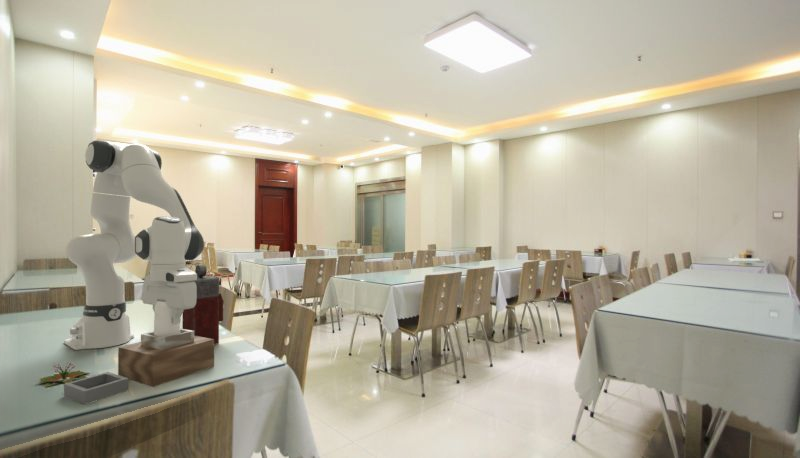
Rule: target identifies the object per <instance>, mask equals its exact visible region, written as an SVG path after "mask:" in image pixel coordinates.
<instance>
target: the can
mask: <svg viewBox="0 0 800 458" xmlns="http://www.w3.org/2000/svg"><path fill="white" fill-rule="evenodd" d="M174 313H175V312H174V311H173V308H170V307H168V306H167V305H166V301H159V300H158V299H157V303H156V304H155V313H154V321H153V332H154V336H159V337H166V336H171V335H175V334H179V333H180V328H181V322H180V323H178V324H173V323H171V321H172V320H171V317H173V316H174Z"/></svg>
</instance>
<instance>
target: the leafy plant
mask: <svg viewBox="0 0 800 458" xmlns="http://www.w3.org/2000/svg"><path fill="white" fill-rule="evenodd" d="M71 366H72V367H71ZM52 367H53V368H54V369H55V371H54V372H55V374H53V375H49V376H45V377H43V378H42V377H41V378H39V380H40V381H39V382H38V383H36V384H35V385H40V384H43V383H45V388H47V387H51V386H54V385H58V384H61V383H63V384H66V383H69V382H73V381H77V379H79V380H80V379H84V378H87V375H86V374H89V372H87V371H86V372H85V371H81V370H80V369H79V370H75V371H72V369H74V368H75V366H73V364H72V362H70V363H69V362H67V363H66V365H65V367H62V366H61V365H60V364H57V366H56V365H55V366H54V365H53V366H52ZM70 367H71V369H69V368H70ZM58 369H59V370H58ZM66 378H67V379H66ZM61 379H62V380H61ZM58 381H59V382H58ZM55 382H57V383H55Z"/></svg>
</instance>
